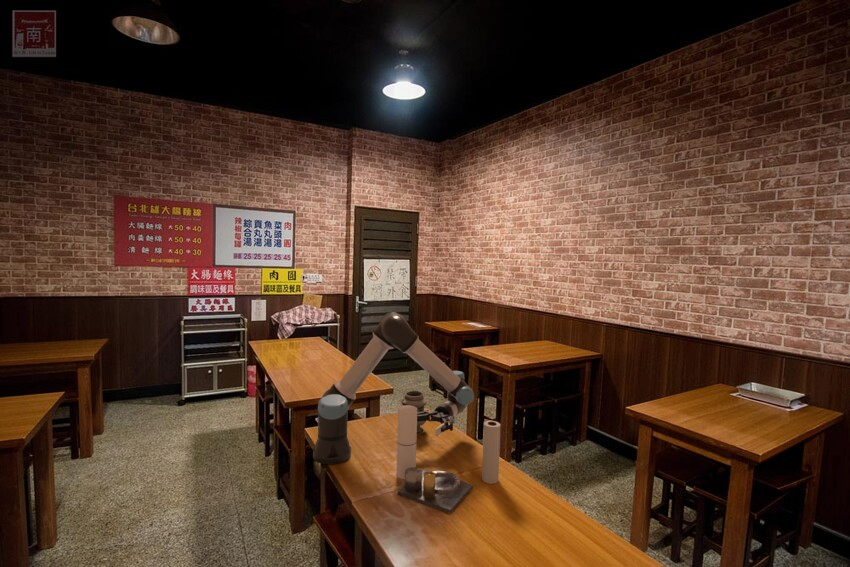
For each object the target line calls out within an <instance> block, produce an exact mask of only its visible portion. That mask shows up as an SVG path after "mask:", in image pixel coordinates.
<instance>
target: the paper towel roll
mask: <svg viewBox="0 0 850 567" xmlns="http://www.w3.org/2000/svg"><path fill="white" fill-rule="evenodd" d="M501 426H502V425H501V423H500V422H499V421H496V420H490V419H486V418H484V420H483V437H482V439H483V440H482V458H481V459H482V463H481V467H482V470H481V480H482V482H484V483H486V484H488V485H490V484H492V485H495V484H497V483H498V482H499V476H500V475H499V474H500V472H499V471H500V451H501V450H500V449H501V448H500V446H501Z"/></svg>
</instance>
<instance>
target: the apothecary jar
mask: <svg viewBox="0 0 850 567" xmlns="http://www.w3.org/2000/svg"><path fill="white" fill-rule="evenodd" d="M406 405H409V406H414V407H416V408H417V413H418V412H422V411H425V406H426V405H427V399H426V398H425V396H424V393H423V392H422V391H420V390H408V391H406V392H405V393H404V397H403V398H402V399H401V406H406ZM425 423H427V421H420V422H417V435H421V434H423V433H424V432H425V430H424V428H423V427H422V426H423V425H424V424H425ZM423 431H424V432H423Z"/></svg>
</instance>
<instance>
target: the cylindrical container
mask: <svg viewBox="0 0 850 567" xmlns="http://www.w3.org/2000/svg"><path fill="white" fill-rule="evenodd" d="M396 436H397V439H396V441H397V442H396V444H397V445H396V472H395V473H396V477H397V478H399V479H401V480H405V470H406V469H408V468H411V467H416V468H417V466H416V465H417V463H416V462H417V440H418V438H417V408H416V407H414V406H409V405H406V406H403V405H401V406H399V407H398V408H397V435H396Z"/></svg>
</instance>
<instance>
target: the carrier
mask: <svg viewBox="0 0 850 567" xmlns="http://www.w3.org/2000/svg"><path fill="white" fill-rule="evenodd" d="M473 489H474V484H472V483H470V482H469V483H468V482H466V481H463V480H460V477H459V476H458V475H457V474H455V473H453V472H450V471H445V470H434V471H431V470H428V469H423V470H422V469H421V468H419V467H417V466H416V467H411V468H408V469H406V470H405V479H404V485H403V486H402V487H400V489H398V490H397V496H401V497H403V498H406V499H409V500H412V501H414V502H417V503H420V504H422V505H426V506H428V507H430V508H433V509H436V510H439V511H441V512H443V513H448V514H451V513H452V512H453V511H454V510H455V509H456V508H457V506H459V504H460V503H461V502H462V501H463V500H464V499H465V497H467V495H468V494H469V493H470V492H471V491H472V490H473Z"/></svg>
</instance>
